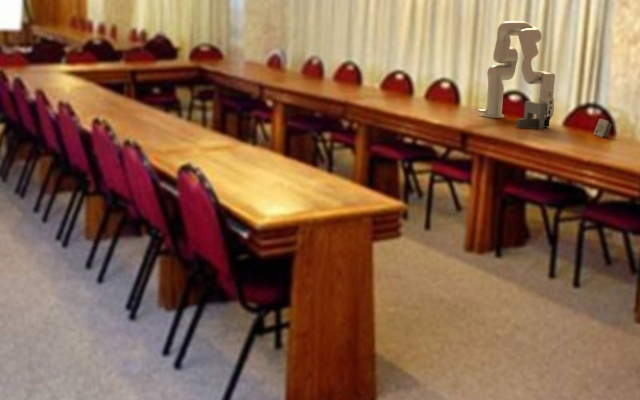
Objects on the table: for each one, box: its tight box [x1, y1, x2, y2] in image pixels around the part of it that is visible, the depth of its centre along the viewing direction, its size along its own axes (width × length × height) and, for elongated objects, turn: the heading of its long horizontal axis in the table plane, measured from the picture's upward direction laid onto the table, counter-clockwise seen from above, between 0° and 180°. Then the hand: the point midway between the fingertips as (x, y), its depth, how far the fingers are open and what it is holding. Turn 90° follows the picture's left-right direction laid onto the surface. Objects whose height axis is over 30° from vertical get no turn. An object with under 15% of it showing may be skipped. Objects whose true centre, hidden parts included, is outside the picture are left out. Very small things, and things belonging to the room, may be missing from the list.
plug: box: [515, 116, 545, 129], centre depth 498 cm, size 18×5×6 cm, turn 110°
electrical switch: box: [593, 118, 613, 138], centre depth 475 cm, size 9×5×9 cm, turn 10°
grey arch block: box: [523, 100, 546, 130], centre depth 497 cm, size 3×16×14 cm, turn 20°
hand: (543, 125), depth 501 cm, fingers closed on plug, 4 cm apart
